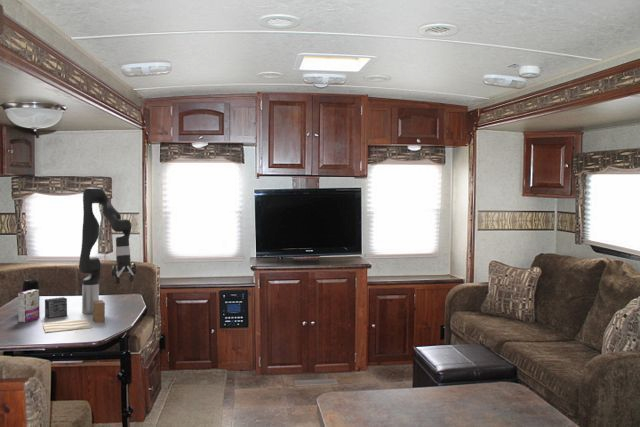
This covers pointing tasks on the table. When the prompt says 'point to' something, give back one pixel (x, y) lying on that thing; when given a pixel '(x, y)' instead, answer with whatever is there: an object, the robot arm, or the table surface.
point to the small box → (55, 307)
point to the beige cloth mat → (66, 325)
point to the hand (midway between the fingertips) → (124, 282)
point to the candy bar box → (28, 305)
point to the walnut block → (99, 311)
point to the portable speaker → (30, 284)
